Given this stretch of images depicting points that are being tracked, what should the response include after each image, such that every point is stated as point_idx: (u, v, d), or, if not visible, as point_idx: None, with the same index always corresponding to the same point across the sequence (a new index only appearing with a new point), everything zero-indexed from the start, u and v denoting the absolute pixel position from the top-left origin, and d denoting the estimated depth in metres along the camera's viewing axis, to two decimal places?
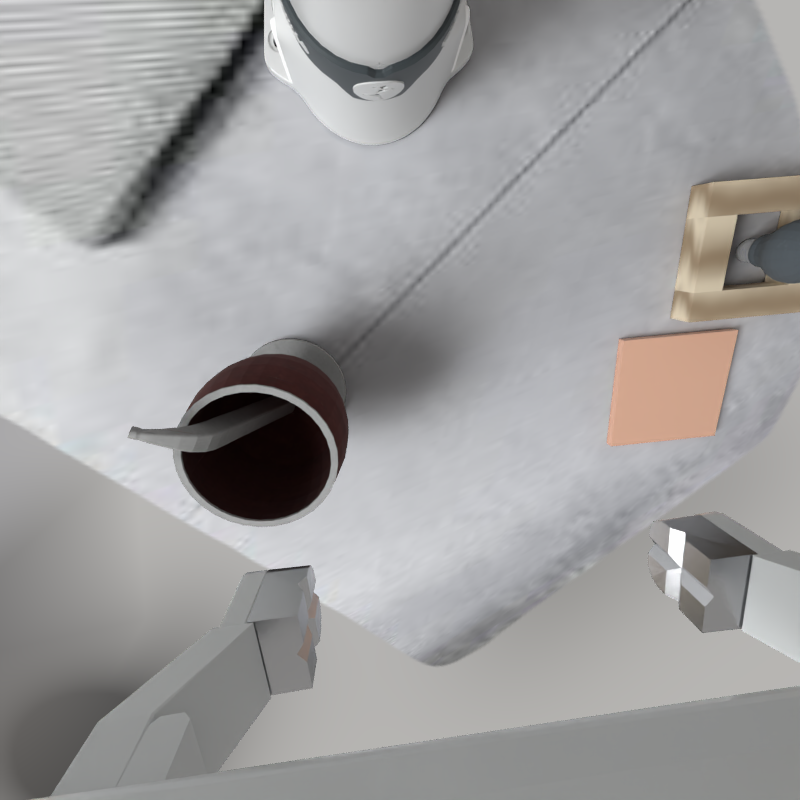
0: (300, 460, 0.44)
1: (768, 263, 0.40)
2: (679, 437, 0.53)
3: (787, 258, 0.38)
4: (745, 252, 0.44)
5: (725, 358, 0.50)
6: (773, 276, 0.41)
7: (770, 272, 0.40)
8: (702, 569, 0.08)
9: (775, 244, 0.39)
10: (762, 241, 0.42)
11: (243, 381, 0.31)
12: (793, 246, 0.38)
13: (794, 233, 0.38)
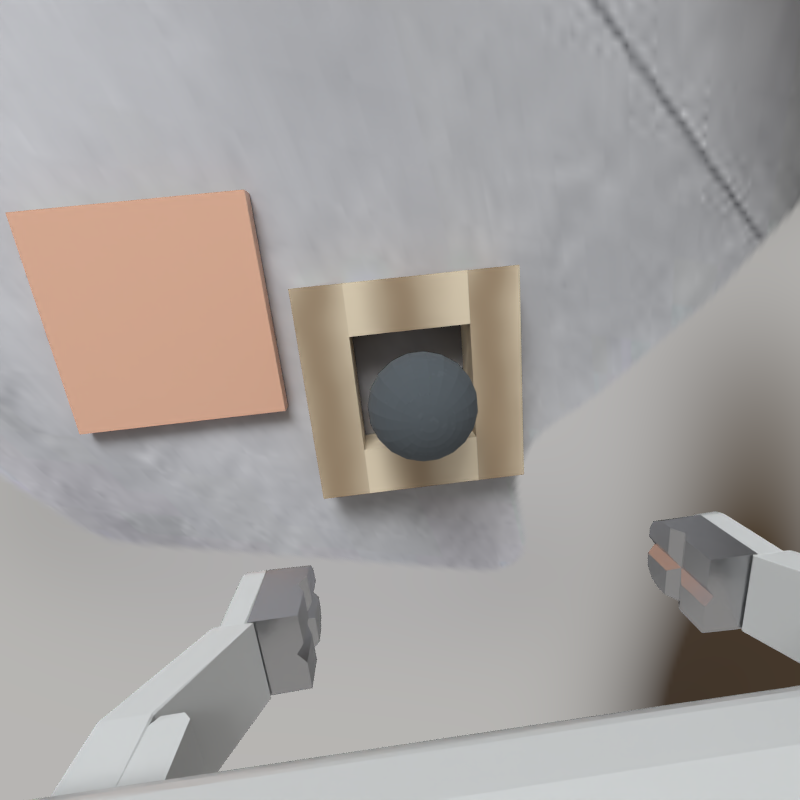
0: None
1: (401, 356, 0.22)
2: (60, 364, 0.26)
3: (412, 364, 0.20)
4: None
5: (232, 405, 0.28)
6: (379, 374, 0.22)
7: (385, 367, 0.22)
8: (702, 569, 0.08)
9: (434, 353, 0.22)
10: None
11: None
12: (434, 366, 0.20)
13: (455, 367, 0.21)
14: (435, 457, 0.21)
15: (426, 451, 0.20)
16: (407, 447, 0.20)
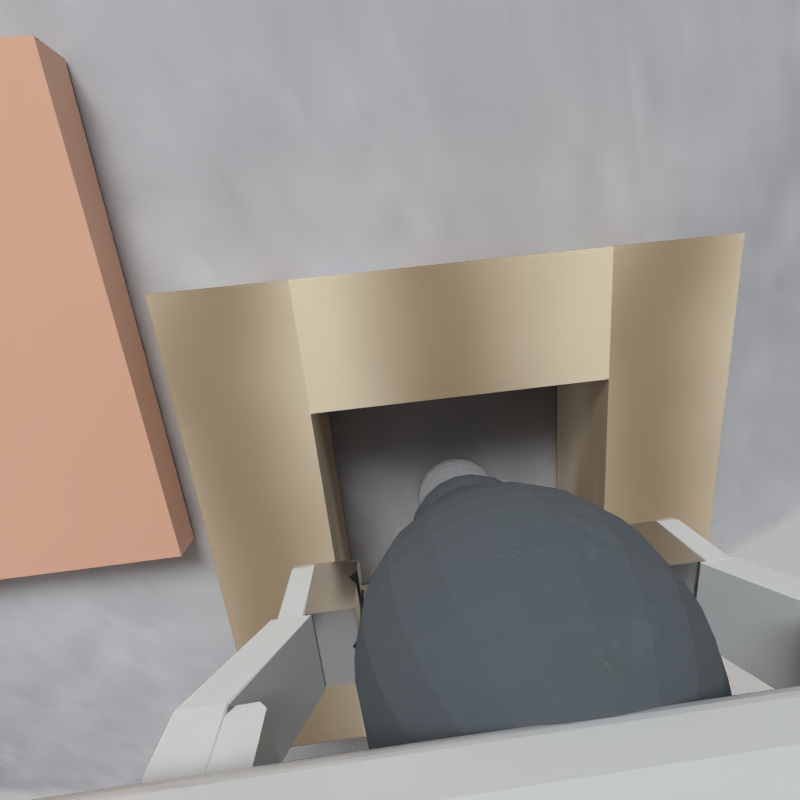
0: None
1: (460, 513, 0.07)
2: None
3: (522, 587, 0.05)
4: (457, 475, 0.12)
5: (62, 549, 0.13)
6: (389, 566, 0.07)
7: (409, 543, 0.07)
8: None
9: (570, 507, 0.07)
10: None
11: None
12: (607, 593, 0.05)
13: (662, 574, 0.06)
14: None
15: None
16: None
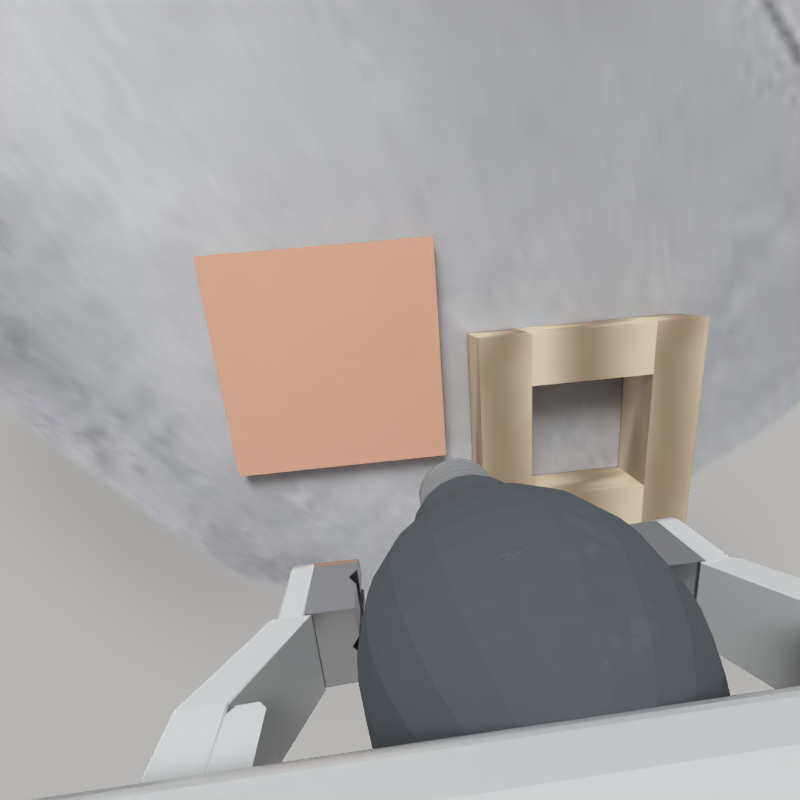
0: None
1: (462, 513, 0.07)
2: (229, 407, 0.26)
3: (524, 586, 0.05)
4: (458, 475, 0.12)
5: (394, 449, 0.27)
6: (392, 565, 0.07)
7: (412, 544, 0.07)
8: None
9: (570, 508, 0.07)
10: None
11: None
12: (607, 592, 0.05)
13: (661, 574, 0.06)
14: None
15: None
16: None
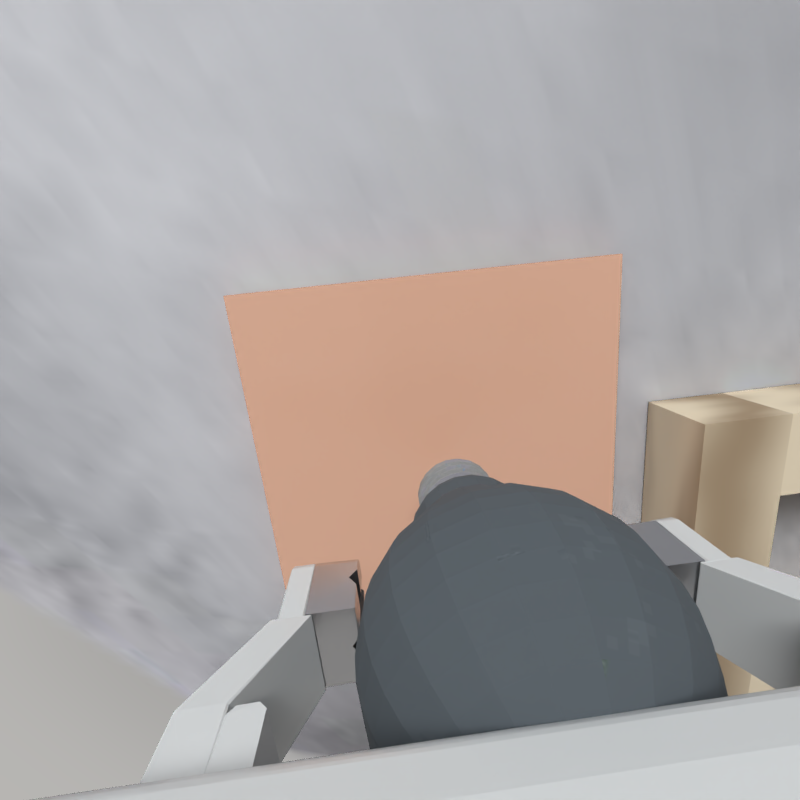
0: None
1: (460, 514, 0.07)
2: (279, 530, 0.16)
3: (520, 587, 0.05)
4: (457, 475, 0.12)
5: None
6: (389, 566, 0.07)
7: (409, 544, 0.07)
8: None
9: (568, 508, 0.07)
10: None
11: None
12: (604, 593, 0.05)
13: (659, 574, 0.06)
14: None
15: None
16: None
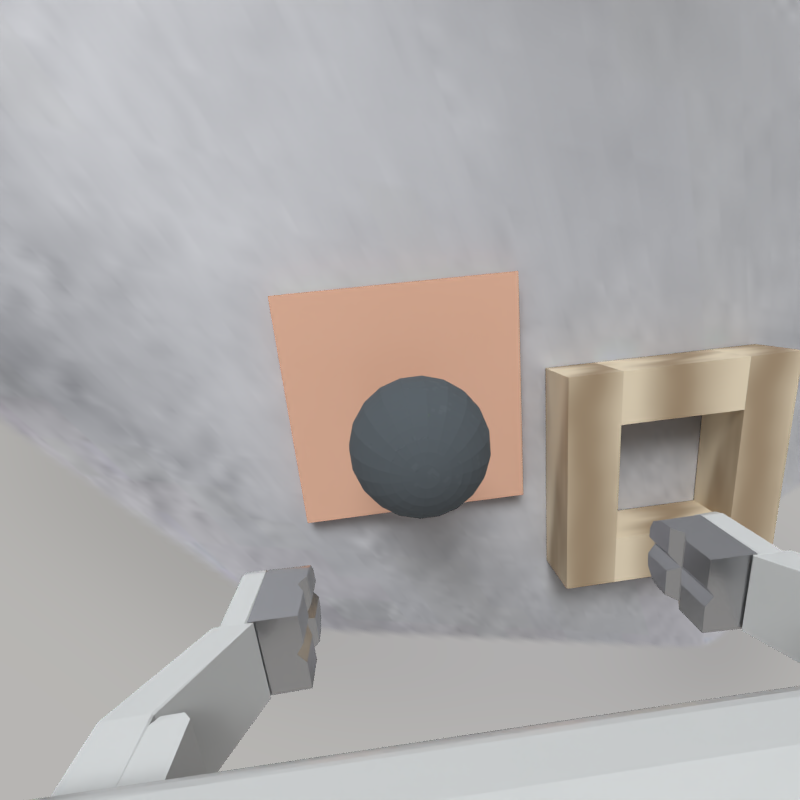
0: None
1: (392, 382, 0.17)
2: (299, 452, 0.25)
3: (406, 396, 0.15)
4: None
5: None
6: (363, 404, 0.17)
7: (371, 395, 0.17)
8: (702, 569, 0.08)
9: (435, 379, 0.17)
10: None
11: None
12: (435, 398, 0.15)
13: (462, 399, 0.16)
14: (434, 515, 0.16)
15: (423, 510, 0.16)
16: (397, 505, 0.16)
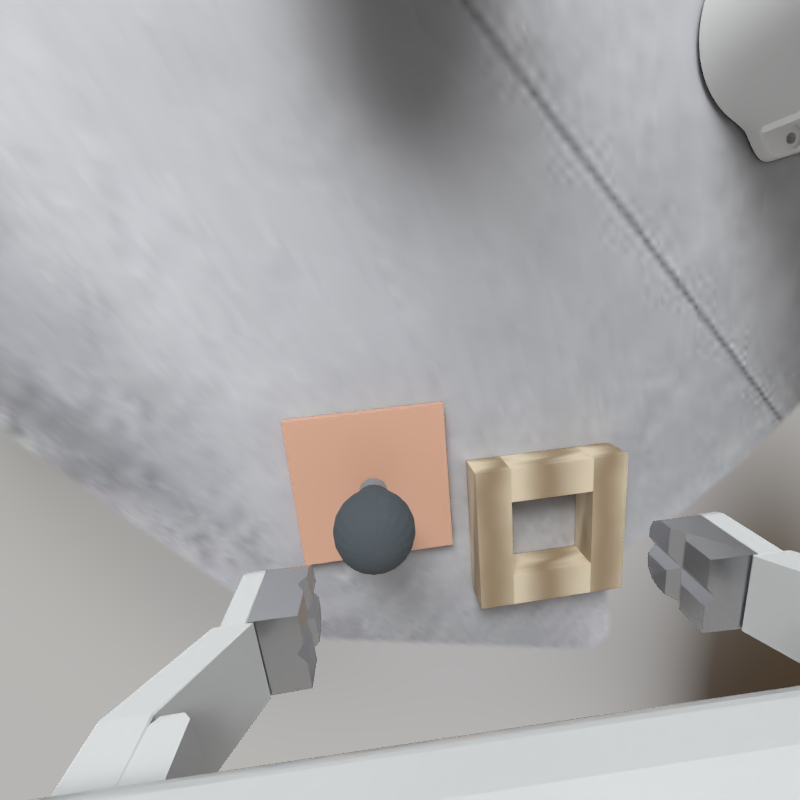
0: None
1: (358, 495, 0.29)
2: (300, 519, 0.37)
3: (364, 508, 0.28)
4: (371, 484, 0.34)
5: (416, 542, 0.39)
6: (341, 507, 0.29)
7: (346, 502, 0.29)
8: (702, 569, 0.08)
9: (382, 494, 0.29)
10: None
11: None
12: (381, 510, 0.28)
13: (397, 508, 0.28)
14: (381, 573, 0.29)
15: (374, 571, 0.28)
16: (359, 569, 0.28)
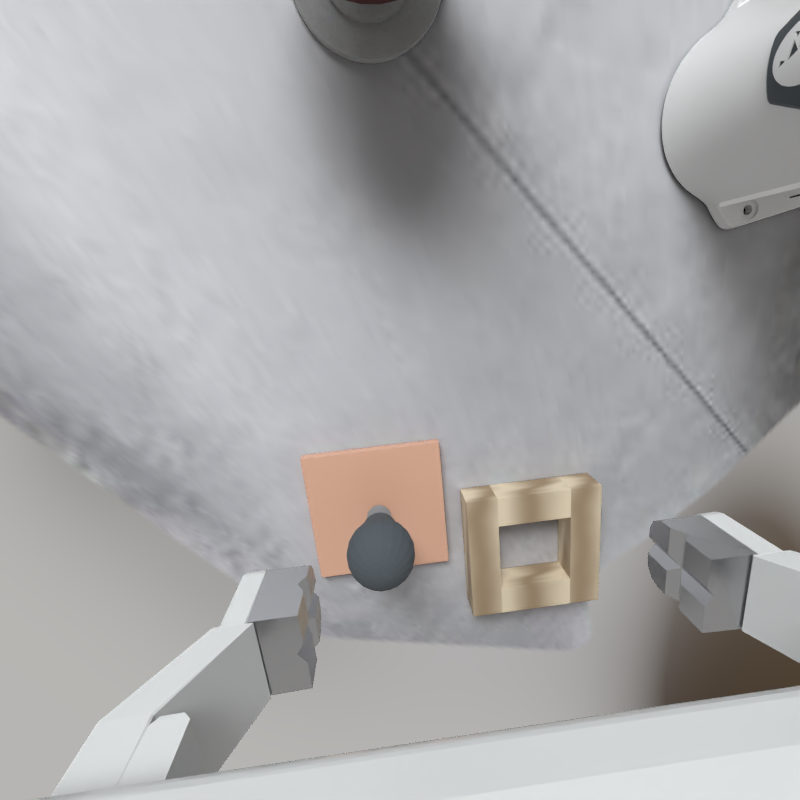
0: None
1: (367, 525, 0.35)
2: (317, 538, 0.43)
3: (373, 538, 0.34)
4: (377, 511, 0.40)
5: (416, 558, 0.45)
6: (353, 535, 0.36)
7: (357, 531, 0.36)
8: (702, 569, 0.08)
9: (387, 524, 0.35)
10: (389, 519, 0.38)
11: None
12: (386, 539, 0.34)
13: (399, 536, 0.35)
14: None
15: (381, 589, 0.34)
16: (369, 587, 0.34)
